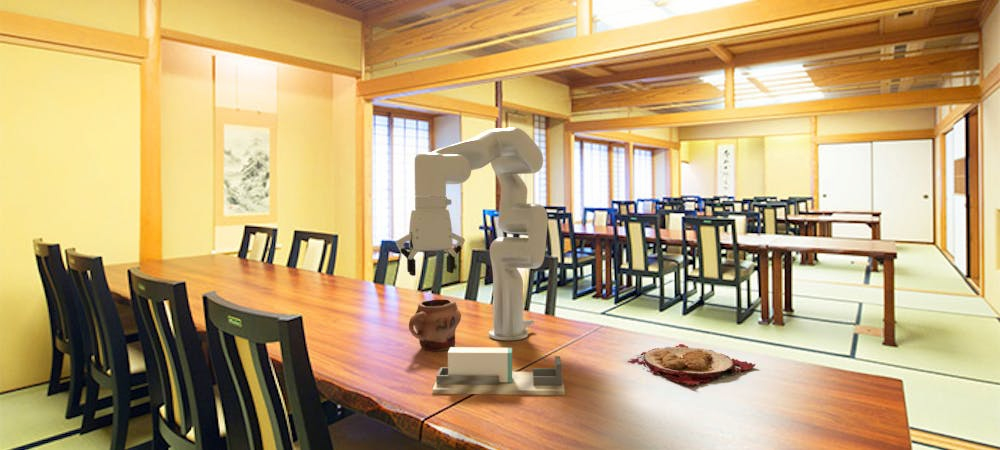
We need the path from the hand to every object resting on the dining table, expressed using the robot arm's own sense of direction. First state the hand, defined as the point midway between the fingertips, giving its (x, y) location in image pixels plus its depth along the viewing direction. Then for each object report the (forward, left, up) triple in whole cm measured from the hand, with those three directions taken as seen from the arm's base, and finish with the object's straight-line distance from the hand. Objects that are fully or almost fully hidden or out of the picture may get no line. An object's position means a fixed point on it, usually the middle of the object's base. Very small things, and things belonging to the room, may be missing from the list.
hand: (431, 273), depth 125 cm
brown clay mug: (-13, -19, -26) cm, 35 cm away
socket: (-16, +23, -25) cm, 38 cm away
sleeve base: (-8, +15, -26) cm, 31 cm away
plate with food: (-54, +38, -27) cm, 71 cm away
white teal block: (-5, +12, -24) cm, 28 cm away
